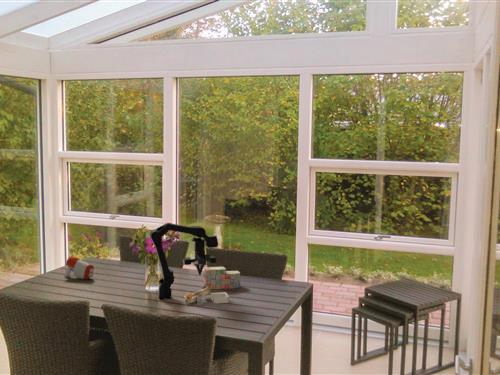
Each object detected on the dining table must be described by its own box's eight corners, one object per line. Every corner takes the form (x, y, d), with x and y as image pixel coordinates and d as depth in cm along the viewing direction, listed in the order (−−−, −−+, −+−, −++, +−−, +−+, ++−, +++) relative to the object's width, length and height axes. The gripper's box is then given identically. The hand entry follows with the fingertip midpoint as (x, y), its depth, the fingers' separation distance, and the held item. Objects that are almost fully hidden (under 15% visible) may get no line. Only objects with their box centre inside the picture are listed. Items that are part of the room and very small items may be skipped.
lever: (187, 304, 282) (185, 299, 282) (183, 296, 295) (181, 291, 294) (211, 294, 285) (210, 289, 285) (206, 287, 298) (205, 282, 298)
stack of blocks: (238, 285, 321) (238, 265, 320) (240, 288, 315) (240, 268, 314) (203, 286, 316) (204, 267, 315) (205, 289, 310) (205, 269, 309)
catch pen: (214, 303, 285) (214, 297, 285) (211, 298, 293) (211, 293, 293) (229, 302, 287) (229, 296, 287) (225, 297, 296) (225, 292, 295)
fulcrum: (195, 305, 282) (195, 297, 281) (192, 299, 291) (192, 292, 290) (204, 304, 283) (204, 296, 283) (200, 299, 292) (201, 291, 291)
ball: (187, 301, 283) (185, 295, 283) (186, 299, 287) (184, 293, 286) (193, 298, 284) (191, 293, 284) (192, 296, 288) (190, 291, 287)
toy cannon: (87, 287, 322) (91, 266, 320) (61, 276, 328) (66, 255, 326) (93, 285, 328) (97, 264, 325) (68, 273, 334) (72, 253, 331)
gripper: (186, 252, 287) (186, 280, 288) (219, 250, 293) (218, 277, 294) (182, 248, 297) (182, 274, 299) (214, 246, 303) (214, 272, 305)
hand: (199, 274), depth 299 cm, fingers closed
